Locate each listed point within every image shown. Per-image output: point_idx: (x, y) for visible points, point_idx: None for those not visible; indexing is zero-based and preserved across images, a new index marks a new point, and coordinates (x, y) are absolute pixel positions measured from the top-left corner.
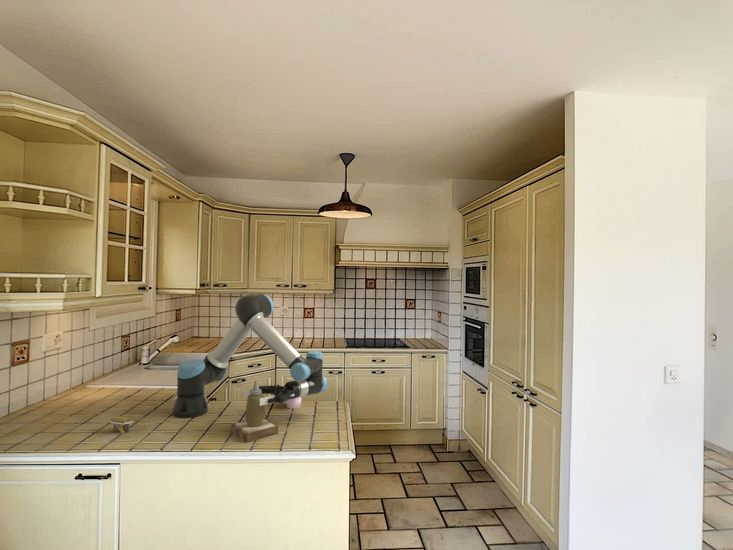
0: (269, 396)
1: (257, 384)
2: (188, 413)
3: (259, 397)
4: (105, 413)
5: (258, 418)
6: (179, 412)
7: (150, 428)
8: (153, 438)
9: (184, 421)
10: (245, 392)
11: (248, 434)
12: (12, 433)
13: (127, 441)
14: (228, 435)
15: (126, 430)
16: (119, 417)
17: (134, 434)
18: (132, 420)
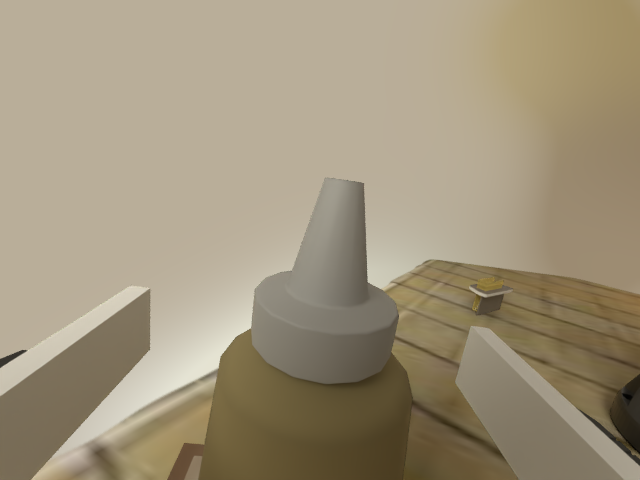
0: (49, 361)
1: (314, 215)
2: (623, 411)
3: (231, 349)
4: (617, 325)
5: None
6: (620, 390)
7: None
8: (420, 324)
9: None
10: (470, 345)
11: (180, 452)
12: (498, 269)
13: (420, 303)
14: None
15: (480, 310)
16: (498, 284)
17: (459, 316)
18: (485, 294)
